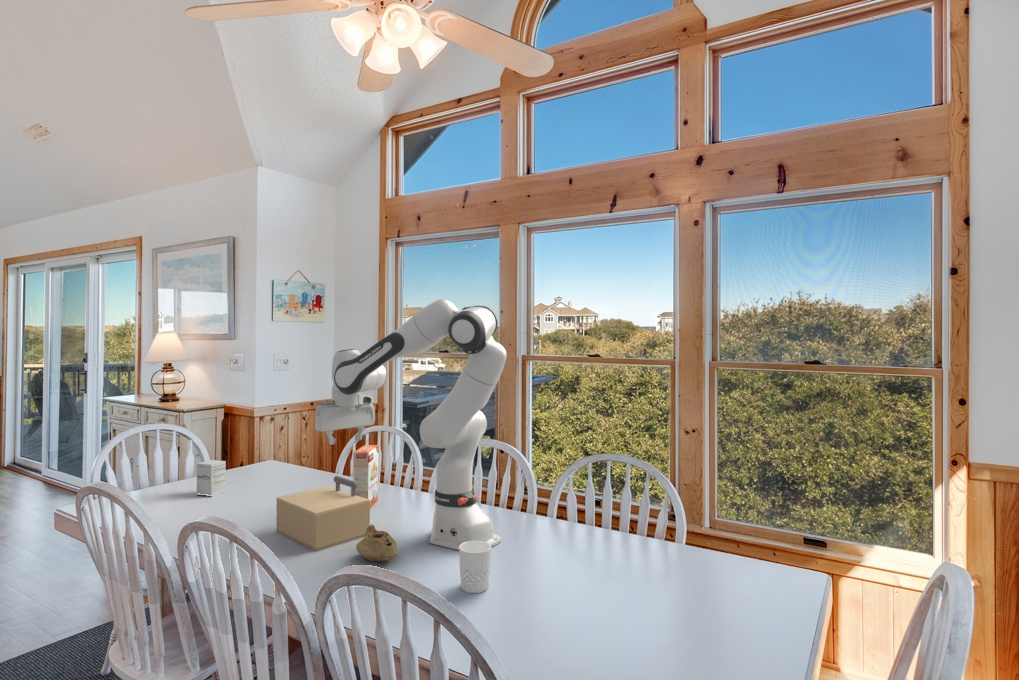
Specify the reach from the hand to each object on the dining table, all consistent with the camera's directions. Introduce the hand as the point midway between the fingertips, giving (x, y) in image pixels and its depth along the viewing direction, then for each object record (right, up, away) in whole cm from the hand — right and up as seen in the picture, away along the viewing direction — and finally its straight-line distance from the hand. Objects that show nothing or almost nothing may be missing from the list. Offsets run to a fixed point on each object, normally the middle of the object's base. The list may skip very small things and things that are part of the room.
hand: (345, 442), depth 179 cm
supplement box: (-63, -27, +37) cm, 78 cm away
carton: (-5, -27, -6) cm, 28 cm away
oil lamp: (+17, -28, -26) cm, 42 cm away
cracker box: (+1, -28, +23) cm, 36 cm away
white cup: (+45, -28, -43) cm, 68 cm away
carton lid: (-5, -17, -6) cm, 19 cm away
